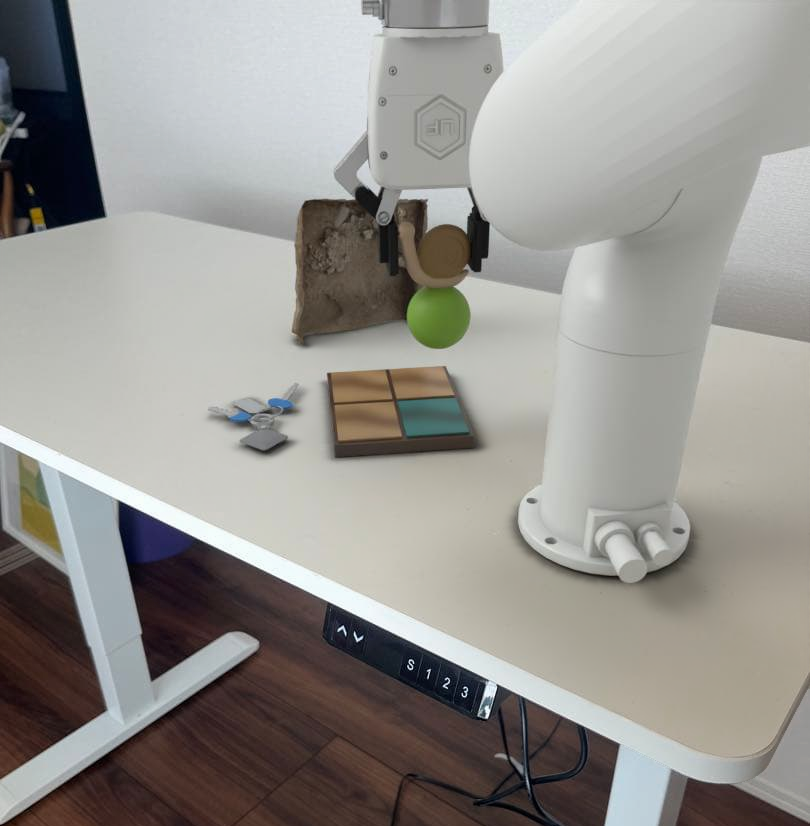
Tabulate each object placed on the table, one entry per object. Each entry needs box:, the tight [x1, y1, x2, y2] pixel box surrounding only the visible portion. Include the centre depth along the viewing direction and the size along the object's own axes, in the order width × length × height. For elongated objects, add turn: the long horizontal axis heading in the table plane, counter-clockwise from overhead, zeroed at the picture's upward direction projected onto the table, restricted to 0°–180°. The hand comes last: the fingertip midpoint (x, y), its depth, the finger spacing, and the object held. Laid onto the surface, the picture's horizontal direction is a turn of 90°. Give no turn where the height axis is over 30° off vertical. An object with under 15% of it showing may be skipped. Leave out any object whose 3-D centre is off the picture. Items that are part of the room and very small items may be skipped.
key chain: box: [207, 382, 299, 452], centre depth 77 cm, size 14×8×1 cm, turn 1°
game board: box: [326, 365, 476, 458], centre depth 78 cm, size 16×12×1 cm
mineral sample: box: [291, 198, 429, 346], centre depth 93 cm, size 17×4×15 cm, turn 115°
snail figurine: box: [397, 206, 471, 350], centre depth 68 cm, size 5×6×12 cm
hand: (433, 267), depth 67 cm, fingers closed on snail figurine, 6 cm apart
